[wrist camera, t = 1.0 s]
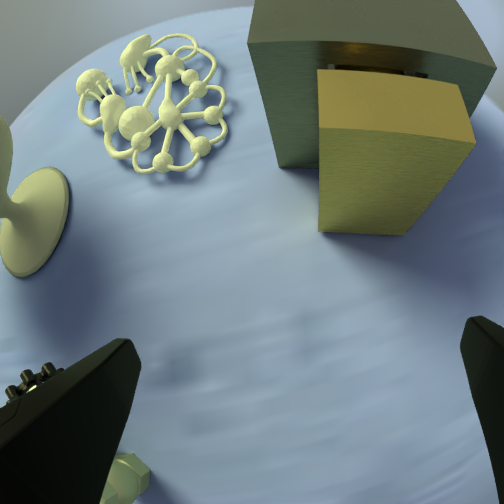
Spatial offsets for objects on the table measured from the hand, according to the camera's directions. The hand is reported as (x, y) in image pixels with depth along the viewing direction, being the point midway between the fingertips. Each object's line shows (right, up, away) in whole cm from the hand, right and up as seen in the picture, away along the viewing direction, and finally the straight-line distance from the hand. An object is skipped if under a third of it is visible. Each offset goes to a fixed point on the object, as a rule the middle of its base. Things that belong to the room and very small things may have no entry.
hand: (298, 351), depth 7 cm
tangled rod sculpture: (-11, +18, +21) cm, 29 cm away
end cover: (+7, +9, +14) cm, 18 cm away
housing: (+7, +13, +16) cm, 22 cm away
